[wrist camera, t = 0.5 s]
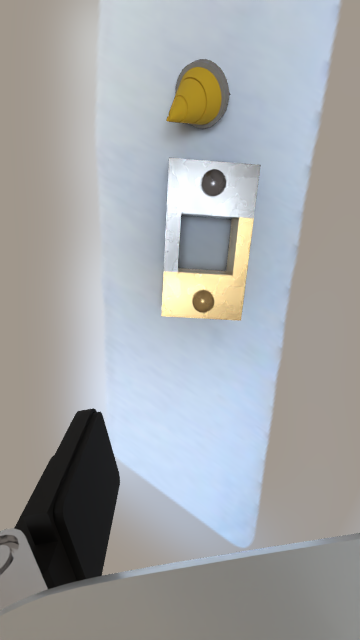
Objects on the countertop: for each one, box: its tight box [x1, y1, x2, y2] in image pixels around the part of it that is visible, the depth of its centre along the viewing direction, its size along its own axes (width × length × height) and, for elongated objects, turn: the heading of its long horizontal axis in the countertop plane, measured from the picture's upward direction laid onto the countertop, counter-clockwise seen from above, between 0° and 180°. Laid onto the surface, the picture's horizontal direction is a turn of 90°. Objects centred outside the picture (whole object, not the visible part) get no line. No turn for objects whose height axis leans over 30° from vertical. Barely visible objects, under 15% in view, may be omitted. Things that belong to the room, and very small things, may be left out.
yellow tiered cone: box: [166, 59, 230, 129], centre depth 28 cm, size 5×5×10 cm
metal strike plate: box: [162, 158, 260, 320], centre depth 33 cm, size 16×9×5 cm, turn 176°
